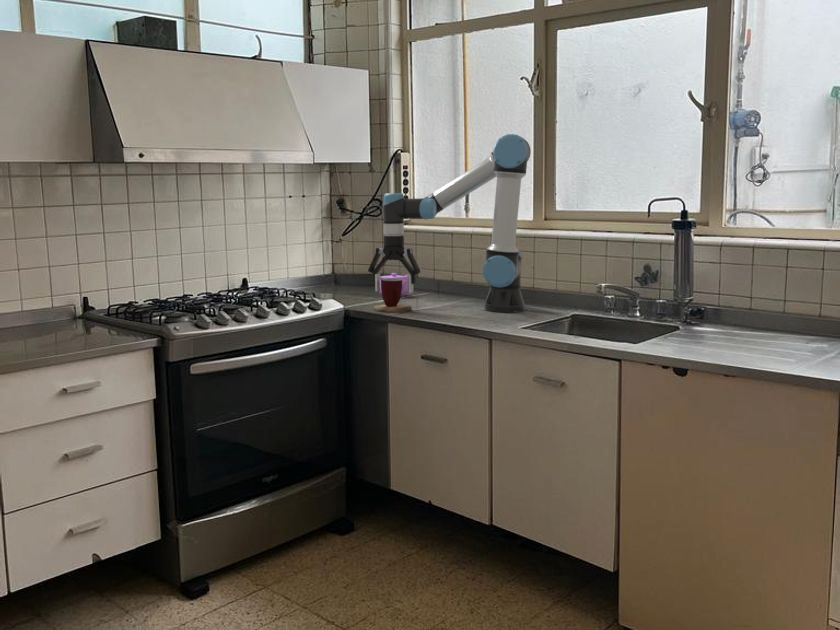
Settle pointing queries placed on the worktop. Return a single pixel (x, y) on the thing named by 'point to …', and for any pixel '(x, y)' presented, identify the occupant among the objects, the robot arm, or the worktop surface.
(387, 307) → the trivet
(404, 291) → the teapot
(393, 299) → the mug
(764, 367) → the worktop surface
